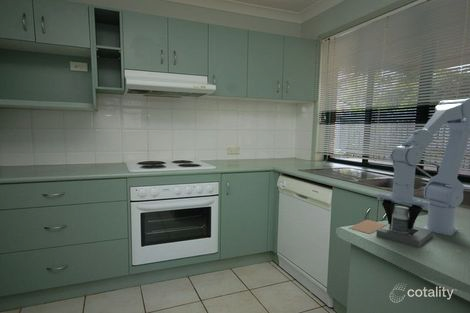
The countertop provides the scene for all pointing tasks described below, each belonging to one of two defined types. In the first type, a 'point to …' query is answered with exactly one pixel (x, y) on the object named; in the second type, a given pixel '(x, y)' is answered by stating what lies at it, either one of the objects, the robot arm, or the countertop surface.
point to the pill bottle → (400, 220)
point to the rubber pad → (368, 226)
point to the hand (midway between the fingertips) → (400, 225)
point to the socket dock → (407, 236)
